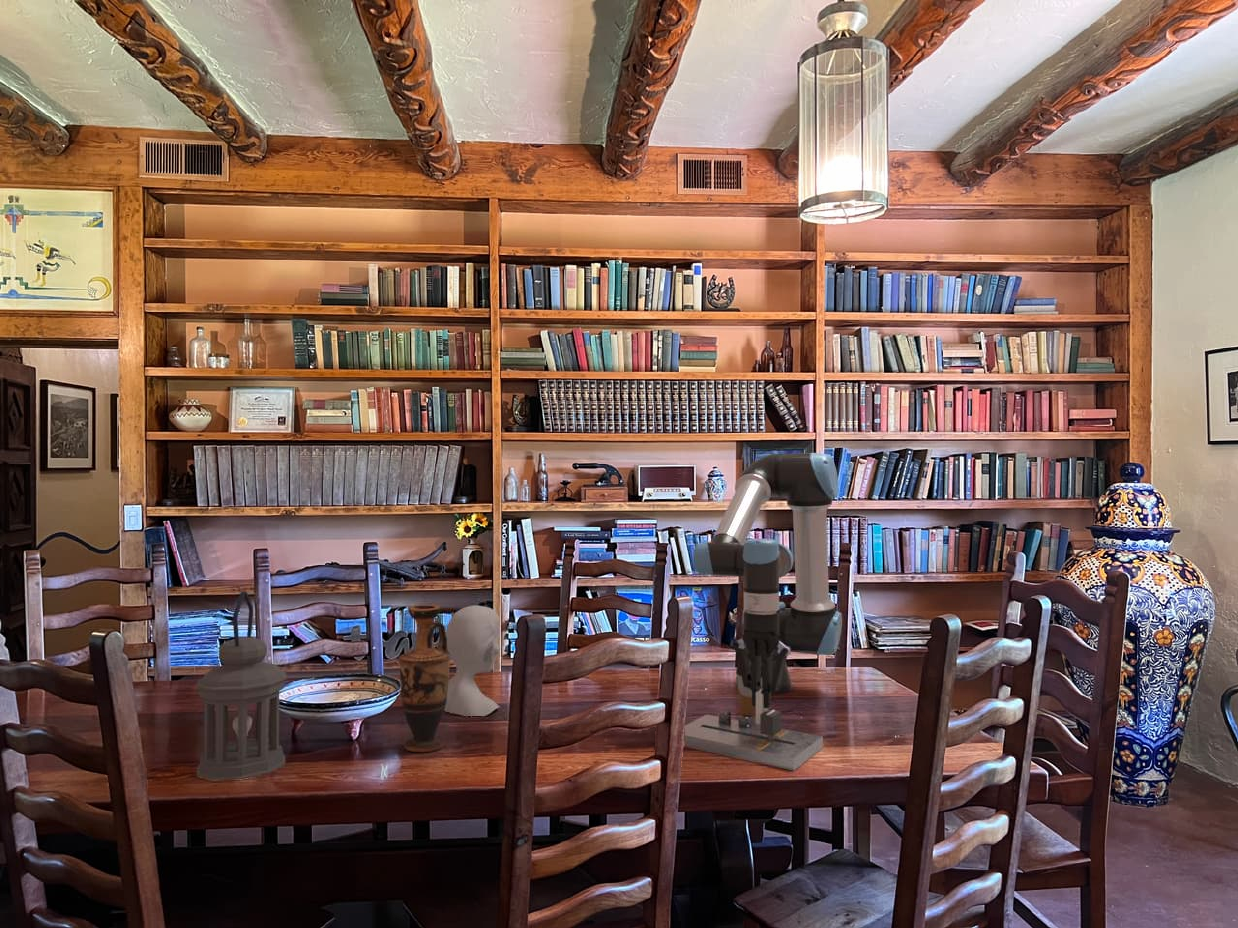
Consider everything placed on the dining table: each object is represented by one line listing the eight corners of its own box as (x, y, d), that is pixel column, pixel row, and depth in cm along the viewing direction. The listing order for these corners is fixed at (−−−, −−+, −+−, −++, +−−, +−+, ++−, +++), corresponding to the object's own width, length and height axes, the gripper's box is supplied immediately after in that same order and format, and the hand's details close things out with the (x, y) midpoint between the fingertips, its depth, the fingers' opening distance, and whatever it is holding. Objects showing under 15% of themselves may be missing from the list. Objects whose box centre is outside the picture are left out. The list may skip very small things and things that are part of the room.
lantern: (281, 776, 155) (283, 595, 155) (185, 786, 150) (187, 598, 151) (291, 748, 171) (292, 584, 171) (204, 756, 166) (206, 587, 167)
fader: (769, 742, 172) (768, 708, 172) (781, 744, 170) (781, 710, 171) (760, 747, 168) (760, 713, 168) (772, 750, 167) (772, 715, 167)
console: (706, 725, 187) (706, 705, 187) (822, 747, 171) (822, 726, 171) (671, 743, 174) (671, 723, 174) (794, 770, 158) (793, 747, 158)
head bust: (529, 701, 207) (529, 604, 208) (478, 720, 191) (479, 615, 191) (467, 689, 219) (467, 597, 219) (414, 706, 203) (414, 607, 203)
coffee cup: (772, 735, 180) (772, 668, 180) (735, 733, 181) (735, 666, 181) (773, 724, 188) (772, 660, 188) (737, 722, 189) (737, 658, 190)
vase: (404, 758, 165) (405, 612, 165) (393, 742, 174) (394, 605, 175) (456, 750, 170) (456, 608, 170) (442, 735, 179) (443, 601, 180)
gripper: (725, 611, 172) (726, 721, 171) (783, 617, 164) (783, 732, 164) (741, 606, 178) (741, 712, 178) (796, 611, 171) (797, 722, 170)
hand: (761, 722), depth 171 cm, fingers closed
